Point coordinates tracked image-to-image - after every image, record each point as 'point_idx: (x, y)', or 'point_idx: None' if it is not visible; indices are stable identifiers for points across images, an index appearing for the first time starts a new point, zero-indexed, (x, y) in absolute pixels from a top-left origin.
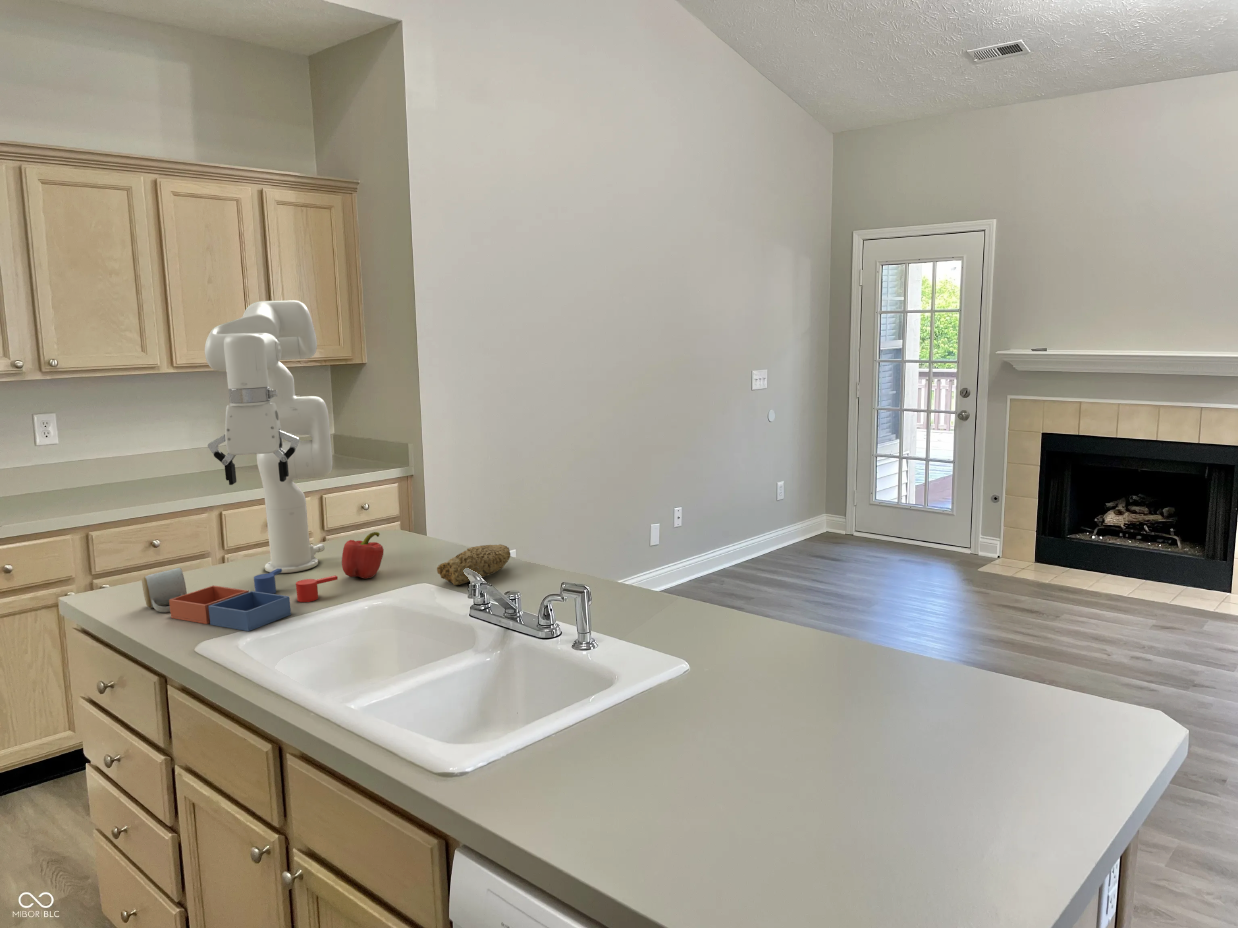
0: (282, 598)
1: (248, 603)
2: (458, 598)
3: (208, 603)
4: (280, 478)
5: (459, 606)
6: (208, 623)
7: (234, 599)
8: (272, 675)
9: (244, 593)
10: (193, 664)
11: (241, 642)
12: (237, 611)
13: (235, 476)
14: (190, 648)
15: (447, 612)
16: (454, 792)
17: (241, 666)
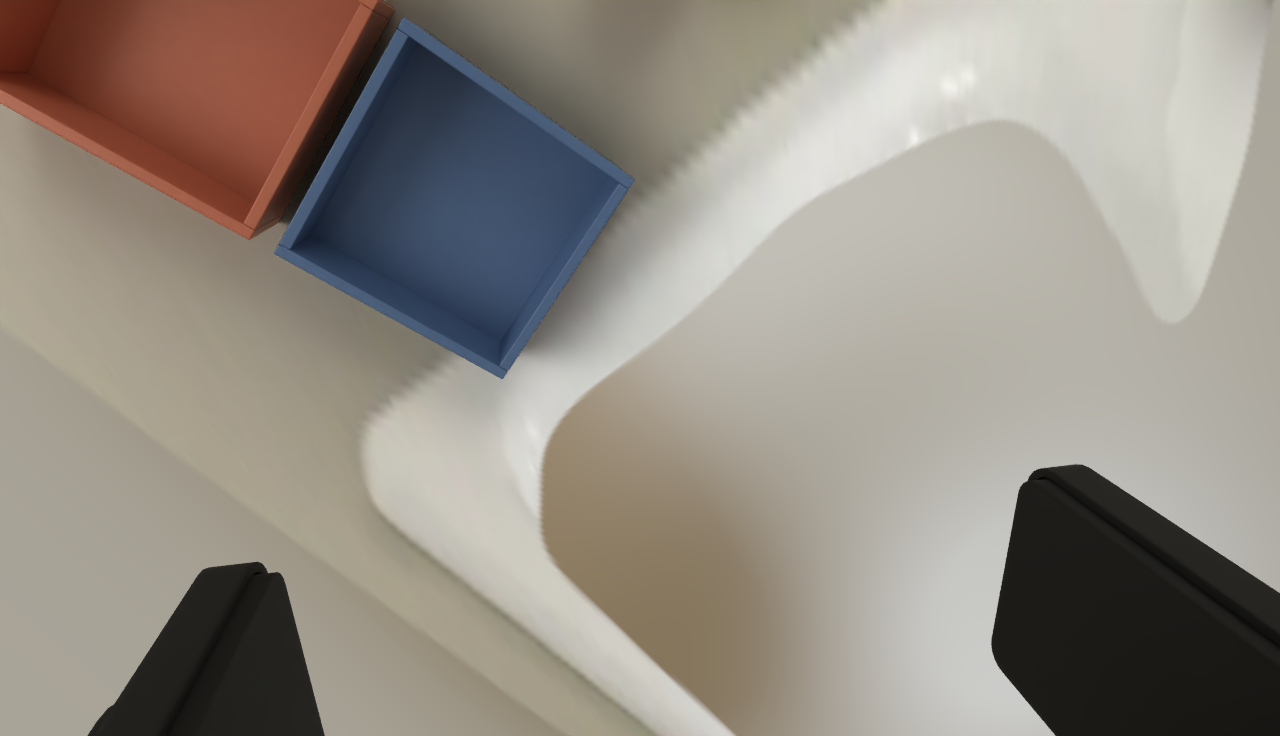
0: (610, 210)
1: (402, 63)
2: (1246, 108)
3: (253, 212)
4: (1026, 685)
5: (1221, 215)
6: (281, 215)
7: (355, 137)
8: (686, 699)
9: (366, 27)
10: (432, 619)
11: (517, 459)
12: (454, 352)
13: (252, 673)
14: (351, 491)
15: (1169, 276)
16: None
17: (586, 642)
